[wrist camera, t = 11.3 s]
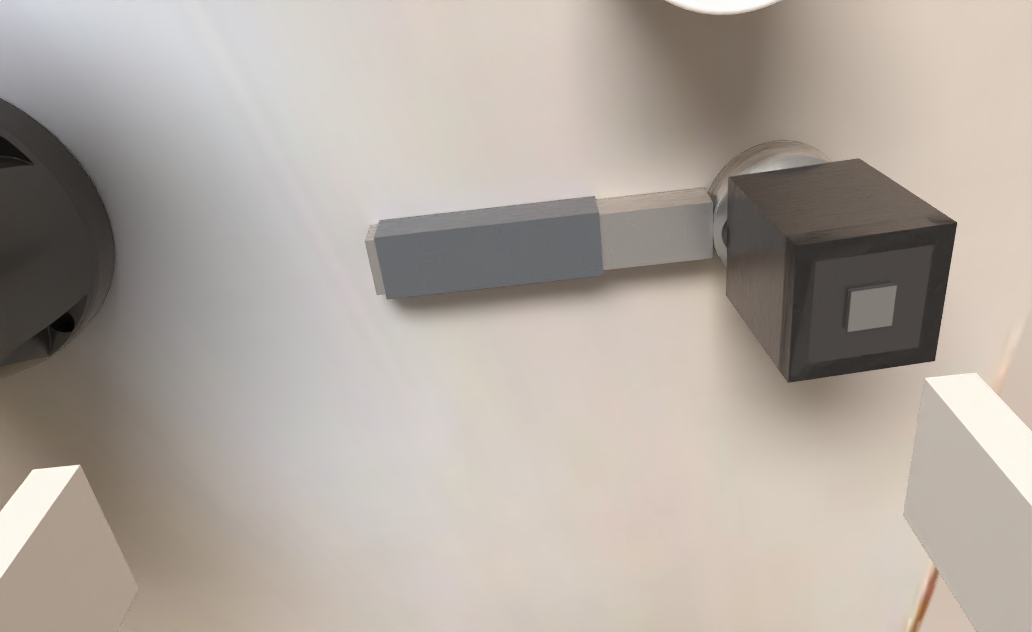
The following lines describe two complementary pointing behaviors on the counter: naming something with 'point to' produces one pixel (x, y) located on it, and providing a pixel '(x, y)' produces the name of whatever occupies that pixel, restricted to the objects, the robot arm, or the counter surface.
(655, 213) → the ratchet
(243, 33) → the counter surface
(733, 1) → the mug
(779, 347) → the socket
